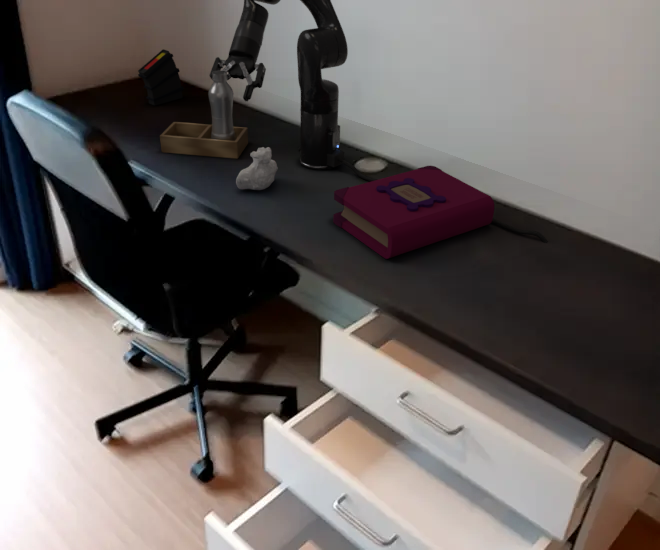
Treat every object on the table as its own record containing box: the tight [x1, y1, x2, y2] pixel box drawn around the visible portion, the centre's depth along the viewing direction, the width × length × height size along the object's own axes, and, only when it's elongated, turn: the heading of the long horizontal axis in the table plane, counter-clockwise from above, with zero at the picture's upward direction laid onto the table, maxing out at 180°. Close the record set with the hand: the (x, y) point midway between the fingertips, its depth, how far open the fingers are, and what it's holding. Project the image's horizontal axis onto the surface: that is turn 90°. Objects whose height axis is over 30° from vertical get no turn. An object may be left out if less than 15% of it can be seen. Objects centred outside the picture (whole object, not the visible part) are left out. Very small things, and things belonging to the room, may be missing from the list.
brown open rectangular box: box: [159, 121, 249, 160], centre depth 188 cm, size 20×11×4 cm, turn 81°
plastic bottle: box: [207, 70, 236, 141], centre depth 184 cm, size 6×7×20 cm
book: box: [332, 165, 495, 260], centre depth 154 cm, size 21×28×8 cm
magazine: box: [137, 49, 185, 106], centre depth 217 cm, size 4×13×15 cm, turn 138°
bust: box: [235, 146, 279, 191], centre depth 167 cm, size 12×8×11 cm
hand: (230, 97), depth 187 cm, fingers open, 8 cm apart
